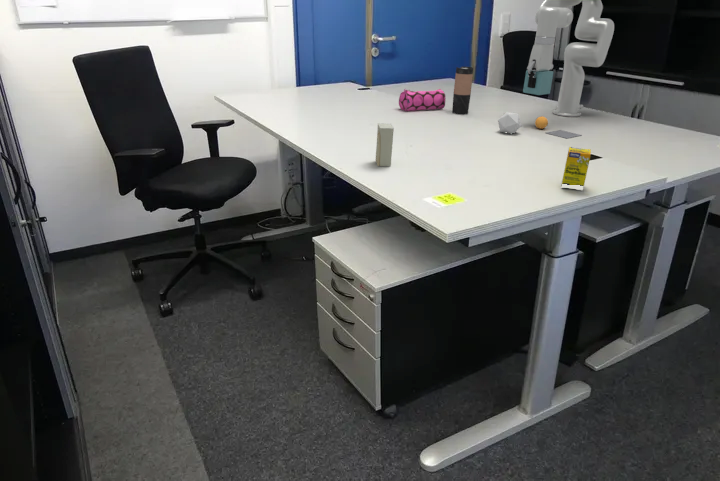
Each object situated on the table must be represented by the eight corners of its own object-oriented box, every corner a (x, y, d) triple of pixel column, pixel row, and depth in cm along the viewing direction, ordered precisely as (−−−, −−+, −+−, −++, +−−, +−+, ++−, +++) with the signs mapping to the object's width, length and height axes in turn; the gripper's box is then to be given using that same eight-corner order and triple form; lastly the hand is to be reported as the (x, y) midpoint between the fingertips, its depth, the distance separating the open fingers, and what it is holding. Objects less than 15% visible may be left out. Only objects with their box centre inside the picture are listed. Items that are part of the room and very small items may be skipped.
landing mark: (560, 130, 223) (560, 129, 223) (581, 135, 216) (581, 135, 216) (545, 133, 217) (545, 132, 217) (566, 138, 210) (566, 138, 210)
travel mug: (468, 115, 245) (473, 69, 236) (451, 113, 246) (455, 68, 238) (468, 111, 252) (473, 66, 243) (452, 110, 253) (456, 66, 245)
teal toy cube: (534, 90, 229) (537, 69, 226) (549, 93, 224) (553, 71, 220) (522, 92, 225) (526, 70, 221) (538, 95, 219) (542, 72, 216)
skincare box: (375, 160, 174) (377, 123, 169) (389, 160, 175) (391, 123, 170) (377, 166, 169) (379, 127, 164) (391, 166, 169) (393, 127, 164)
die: (523, 134, 217) (516, 112, 218) (523, 128, 209) (516, 105, 210) (502, 140, 219) (496, 118, 220) (502, 134, 210) (495, 111, 212)
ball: (539, 126, 228) (541, 114, 226) (549, 129, 224) (551, 117, 222) (531, 128, 225) (533, 116, 223) (541, 130, 221) (543, 118, 219)
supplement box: (560, 188, 155) (568, 151, 150) (561, 182, 160) (568, 146, 156) (583, 191, 153) (591, 154, 149) (583, 185, 158) (591, 148, 154)
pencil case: (407, 113, 245) (408, 90, 240) (396, 109, 253) (398, 87, 248) (447, 110, 253) (449, 88, 249) (436, 107, 261) (438, 85, 257)
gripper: (549, 40, 224) (541, 84, 231) (523, 41, 214) (516, 87, 221) (565, 41, 218) (557, 86, 226) (539, 43, 208) (532, 89, 216)
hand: (537, 86), depth 223 cm, fingers closed on teal toy cube, 7 cm apart
